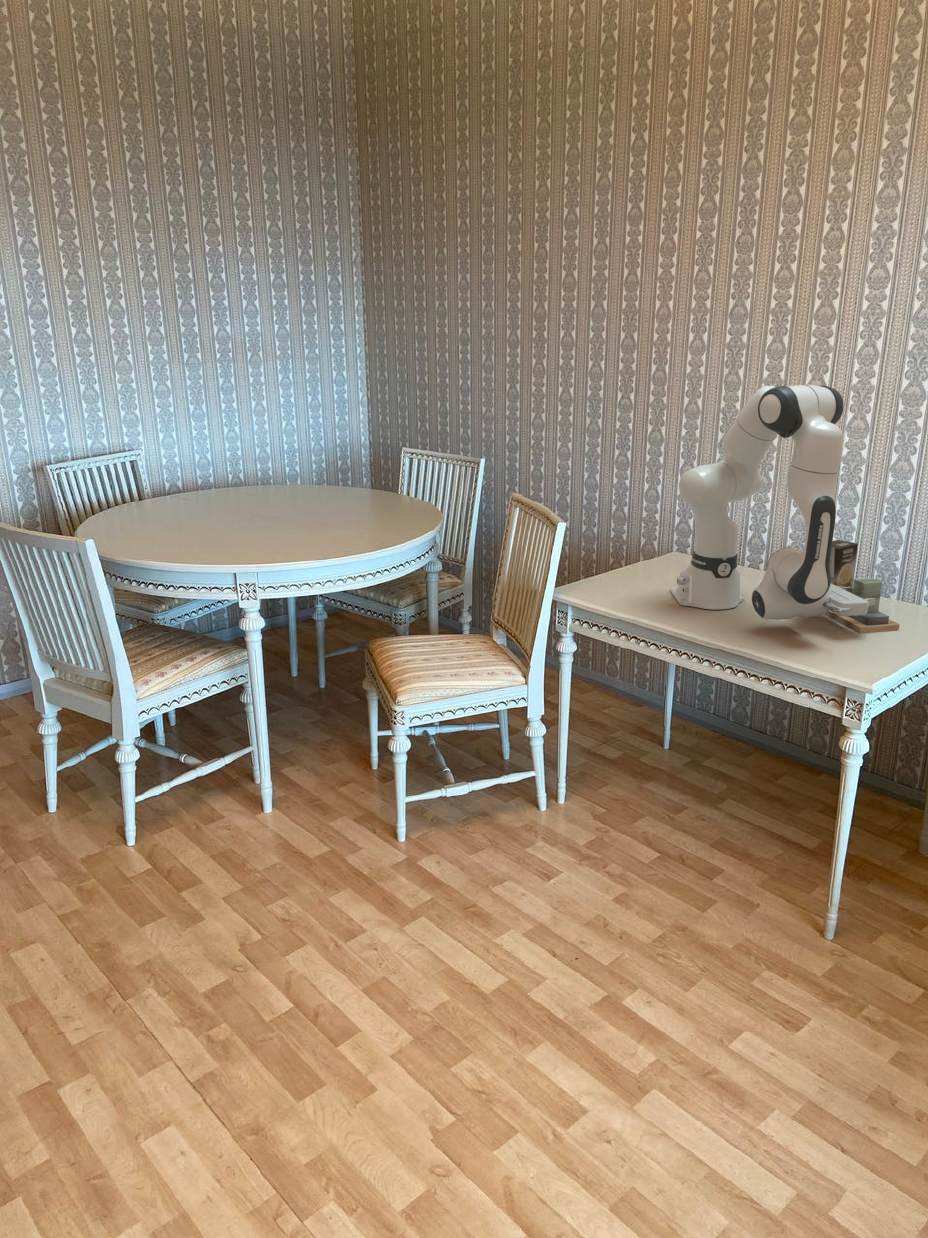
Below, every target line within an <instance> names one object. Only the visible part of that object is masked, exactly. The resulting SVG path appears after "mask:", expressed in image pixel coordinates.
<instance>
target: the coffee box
mask: <svg viewBox="0 0 928 1238" xmlns="http://www.w3.org/2000/svg"><path fill="white" fill-rule="evenodd" d="M858 547H859V543H857V542H851V541H845V540H842V539H841V540H840V539H837V540H833V542H832V549H831V556H830V573H831V584H834V585H836V586H841V587H851V588H853V583H854V579H855V569H856V562H857V561H856V560H857V555H858Z"/></svg>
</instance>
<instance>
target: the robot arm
mask: <svg viewBox="0 0 928 1238" xmlns="http://www.w3.org/2000/svg"><path fill="white" fill-rule="evenodd" d="M844 407H845V406H844V399H843V397H842V394H841V393H840V392H839V391H838V390H837V389H835V388H833V387H831V386H827V385H822V384H821V385H815V384H795V385H780V386H775V385H765V386H761V387H760V388H759V389H757V391H756V392H754V394H753V395H751V397H750V398H749V399H748V401H746V403H745V404H744V406H743V407H742V409H740V411H739V413H738V415H737V416H736V418H735V419H734V421H733V422H732V424H731V426H730V428H729V429H728V431H727V432H726V434H725V436H724V437H723V440H722V444H723V446H722V447H723V448H724V451H725V455H724V457H723V458H722V460H720V461H719V462H715V463H709V464H701V465H697V466H695V467H693V468H691V469H689V470H686V471H685V472H683V474H682V475H681V476H680V478H679V482H678V491H679V496H680V498H681V500H682V501H683V502H684V503H685V504H686V505H687V506H688V507H689V508H690V510H691V512H692V514H693V518H694V524H695V542H694V543H695V545H694V551H691V553H692V554H691V560H690V564H689V565H688V566H687V567H685V568H684V569H683V570H682V571H681V572H680V573H679V576H678V577H677V578H676V584H677V585H674V586H671V587H670V588H669V591H670V593H671V594H672V596H673V597H674V598H675V600H676V601H677V602H678V604H679V605H680V606H685V607H694V608H697V609H699V608H700V609H705V610H729V609H733V608H735V607H737V606H739V605H740V603H742V602H744V600H745V598H744V596H743V595H741V573H740V571H739V570H738V569H737V568H738V561H739V559H738V554H737V548H738V547H737V545H738V536H739V535H738V534H739V533H738V532H739V528H738V524H737V523H736V522H735V521H734V520H733V519H731V518H730V516H729V513H728V504H729V503H734V502H741V501H743V500H746V499H748V498H750V497H751V496H754V495H756V493H758V492H759V490H760V488H761V485H762V474H761V471H760V469H759V468H760V466H761V465H760V464H761V462H762V460H763V458H764V456H765V455H766V453H767V451H768V450H769V448H770V447H771V445H772V444H773V443H774V440H775V439H776V437H777V436H779V437H781V438H782V439H787V438H790V437H791V438H792V440H793V442H794V443H793V444H794V448H793V454H792V458H791V461H790V465H789V470H788V473H787V474H788V475H787V492H788V494H789V496H790V498H791V499H792V500H793V502H794V503H795V505H796V506H797V507H798V509H799V511H800V512H801V514H802V516H803V518H804V522H805V529H806V530H805V531H806V532H805V537H804V544H803V545H804V546H803V552H802V553H801V552H800V551H798V550H797V549H795V548H793V547H782V548H780V549H777V550H776V551H775V552H773V553H772V554H771V555H770V557H769V558H768V561H767V564H766V570H765V573H764V575H763V579H761V582H760V583H759V584H758V585H757V586H756V588H754V590H753V591H752V594H751V604H752V607H753V608H754V611H755V612H756V614H757V615H758V616H759V617H761V618H762V619H765V620H772V621H774V620H777V621H778V620H779V621H780V620H791V619H794V618H797V617H798V618H802V619H804V618H805V619H806V618H819V617H823V616H826V615H825V614H826V613H827V611H828V610H830V611H832V612H834V613H836V614H838V615H842V616H860V615H865V614H867V611H868V606H871V605H875V601H876V599H875V598H872V597H866V599H863V598H860V597H858V596H856V595H854V594H852V592H853V587H852V588H851V587H841V586H836V585H834V584H831V573H830V556H831V549H832V542H833V541H834V533H835V526H836V519H837V517H836V516H837V509H836V484H837V479H838V475H839V471H840V466H841V462H842V461H841V460H842V454H843V444H844V443H843V441H844V433H843V431H842V430H841V427H839V426H838V425H837V423H838V422H839V421H840V419H841V418H842V416H843V413H844Z"/></svg>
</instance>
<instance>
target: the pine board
mask: <svg viewBox="0 0 928 1238" xmlns="http://www.w3.org/2000/svg"><path fill="white" fill-rule="evenodd" d="M824 616H827V617H828V618H831V619H833V620H835V621H836V622H838V623H840V624H842V625H844V626H846V627H848V628H850V629H851V630H853V631H855V632H856V633H857V634H870V633H880V632H889V631H888V630H893V631H897V630H896V629H899V630H900V626H901V625H900V623H898V622H895V621H893V620H891V619H890V618H889V621H888V624H880V625H870V626H867V625H865V624H863V623H861V622H859V621H857V620H855V619H853V618H851V617H849V616H842V615H838V614H836V613H834V612H832V611H830V610H828V611H827V613H826V614H825V615H824Z"/></svg>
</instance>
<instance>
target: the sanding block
mask: <svg viewBox="0 0 928 1238" xmlns="http://www.w3.org/2000/svg"><path fill="white" fill-rule="evenodd" d="M882 583H883V582H882V581H880V580H878V579H875V578H873V577H863V578H861V577H860V578H854V579H853V587H852V588H853V592H852V594H854V595H856V596H858V597H860V598H863V599H866V597H872V598H875V599H876V601H875V605H871V606H868V611H867V614H865V615H860V616H849V617H851V618H853V619H855V620H857V621H859V622H861V623H863V624H865V625H867V626H870V625H880V624H888V621H889V619H890V616H889V615H888V614H885V613H884V612H881V611H879V610H880V609H879V607H880V601H881V593H882V585H883V584H882Z"/></svg>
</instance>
